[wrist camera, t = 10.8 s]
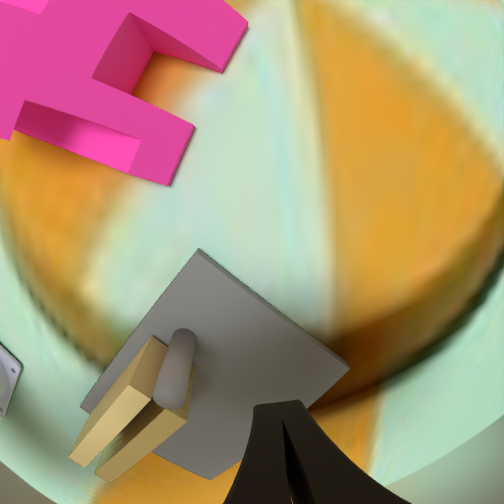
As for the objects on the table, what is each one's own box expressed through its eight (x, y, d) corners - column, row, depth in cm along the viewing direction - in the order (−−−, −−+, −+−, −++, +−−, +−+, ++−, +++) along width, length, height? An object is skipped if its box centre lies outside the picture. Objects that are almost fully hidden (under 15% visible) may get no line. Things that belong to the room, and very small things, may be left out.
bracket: (16, 126, 15) (-101, 111, 5) (85, -8, 13) (15, -87, 3) (169, 185, 16) (85, 195, 6) (247, 28, 14) (264, -97, 4)
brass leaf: (179, 355, 17) (165, 408, 12) (195, 366, 17) (187, 421, 13) (112, 427, 18) (94, 473, 14) (126, 435, 19) (110, 482, 14)
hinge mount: (210, 471, 21) (208, 531, 15) (84, 399, 19) (52, 456, 13) (345, 360, 19) (382, 422, 13) (198, 248, 17) (180, 286, 11)
